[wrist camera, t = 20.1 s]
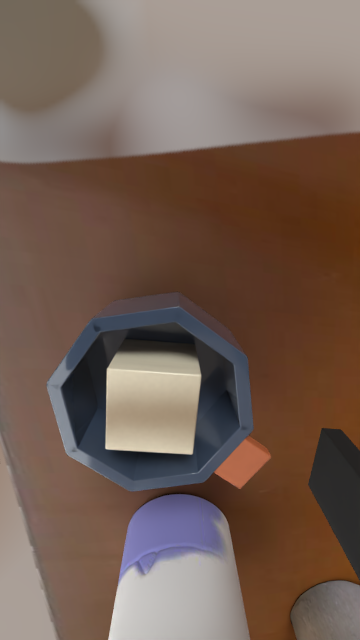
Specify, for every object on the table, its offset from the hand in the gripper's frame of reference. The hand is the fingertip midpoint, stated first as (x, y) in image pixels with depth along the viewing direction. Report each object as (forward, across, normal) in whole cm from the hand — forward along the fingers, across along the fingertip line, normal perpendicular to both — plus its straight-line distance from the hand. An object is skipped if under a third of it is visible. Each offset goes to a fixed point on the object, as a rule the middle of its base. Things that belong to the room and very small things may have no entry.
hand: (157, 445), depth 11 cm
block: (+9, -1, -1) cm, 9 cm away
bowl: (+10, 0, -2) cm, 10 cm away
